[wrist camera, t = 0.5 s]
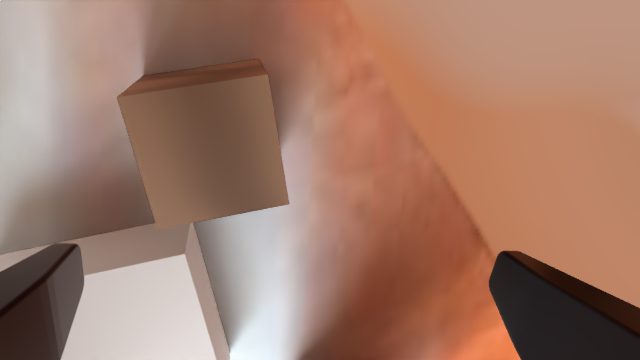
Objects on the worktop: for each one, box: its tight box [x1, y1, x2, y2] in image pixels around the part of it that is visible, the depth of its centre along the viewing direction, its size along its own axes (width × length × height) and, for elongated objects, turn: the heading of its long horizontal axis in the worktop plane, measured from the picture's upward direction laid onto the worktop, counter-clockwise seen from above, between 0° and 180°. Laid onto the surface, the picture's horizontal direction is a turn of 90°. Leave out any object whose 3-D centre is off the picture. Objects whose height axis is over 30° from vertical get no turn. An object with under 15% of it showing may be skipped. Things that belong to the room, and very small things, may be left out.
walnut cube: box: [117, 59, 289, 230], centre depth 18 cm, size 5×5×5 cm
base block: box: [0, 223, 230, 360], centre depth 21 cm, size 9×9×4 cm
